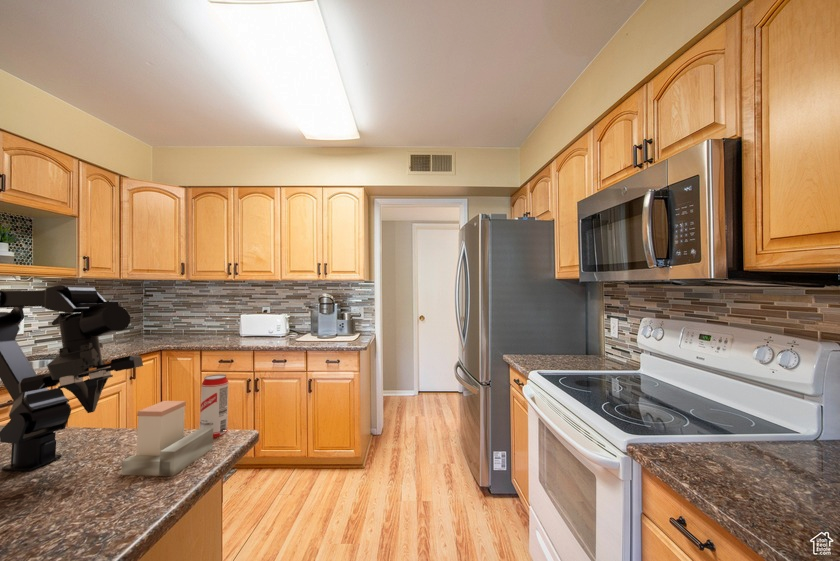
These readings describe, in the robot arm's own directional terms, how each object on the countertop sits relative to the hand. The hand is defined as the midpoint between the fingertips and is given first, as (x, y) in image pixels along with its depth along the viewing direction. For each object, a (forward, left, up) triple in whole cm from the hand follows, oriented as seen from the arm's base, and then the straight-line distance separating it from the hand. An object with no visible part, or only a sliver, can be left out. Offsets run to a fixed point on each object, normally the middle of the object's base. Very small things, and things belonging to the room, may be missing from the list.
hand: (91, 412), depth 74 cm
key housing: (+14, +2, -12) cm, 19 cm away
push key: (+14, +2, -11) cm, 18 cm away
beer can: (+16, +17, -12) cm, 27 cm away
